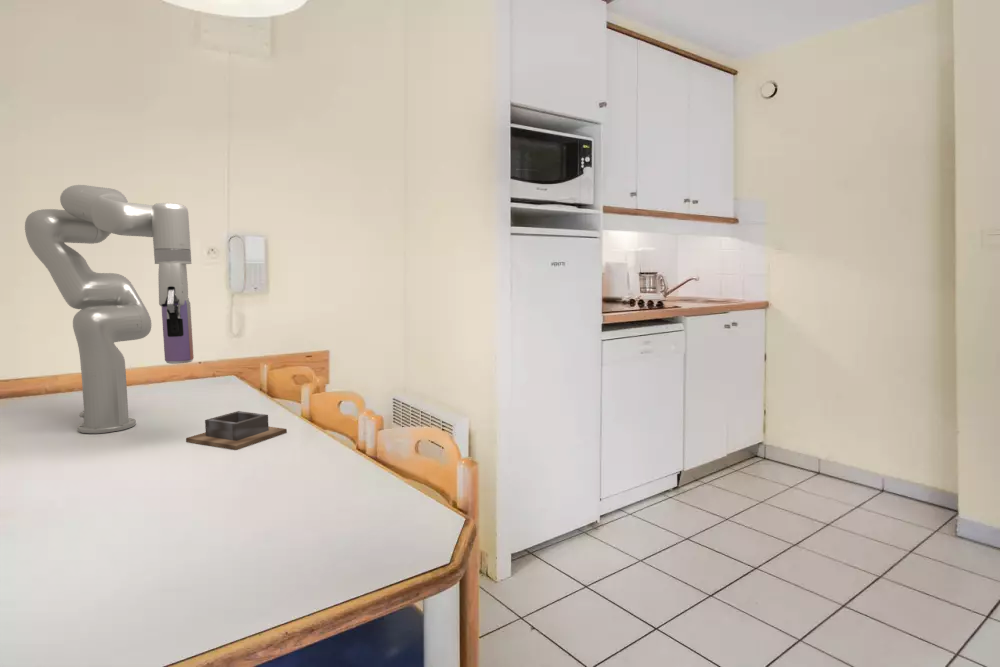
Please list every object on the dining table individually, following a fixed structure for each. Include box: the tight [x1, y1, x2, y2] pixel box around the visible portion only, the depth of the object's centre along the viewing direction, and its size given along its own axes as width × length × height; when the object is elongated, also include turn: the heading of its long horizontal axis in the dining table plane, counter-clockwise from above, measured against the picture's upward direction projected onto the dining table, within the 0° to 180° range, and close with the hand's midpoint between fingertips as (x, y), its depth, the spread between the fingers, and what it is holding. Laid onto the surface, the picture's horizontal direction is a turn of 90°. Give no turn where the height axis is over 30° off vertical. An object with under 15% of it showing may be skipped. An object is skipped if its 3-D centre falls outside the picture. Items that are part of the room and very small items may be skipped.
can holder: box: [185, 410, 288, 451], centre depth 145 cm, size 16×16×5 cm
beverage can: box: [161, 297, 194, 365], centre depth 139 cm, size 6×6×15 cm
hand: (177, 334), depth 139 cm, fingers closed on beverage can, 5 cm apart
